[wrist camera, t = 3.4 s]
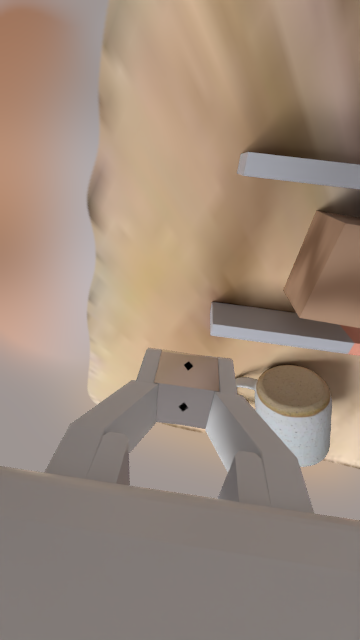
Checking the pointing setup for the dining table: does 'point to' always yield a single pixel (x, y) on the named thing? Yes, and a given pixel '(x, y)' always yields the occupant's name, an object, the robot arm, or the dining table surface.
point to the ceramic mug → (295, 409)
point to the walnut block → (328, 271)
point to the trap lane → (281, 323)
